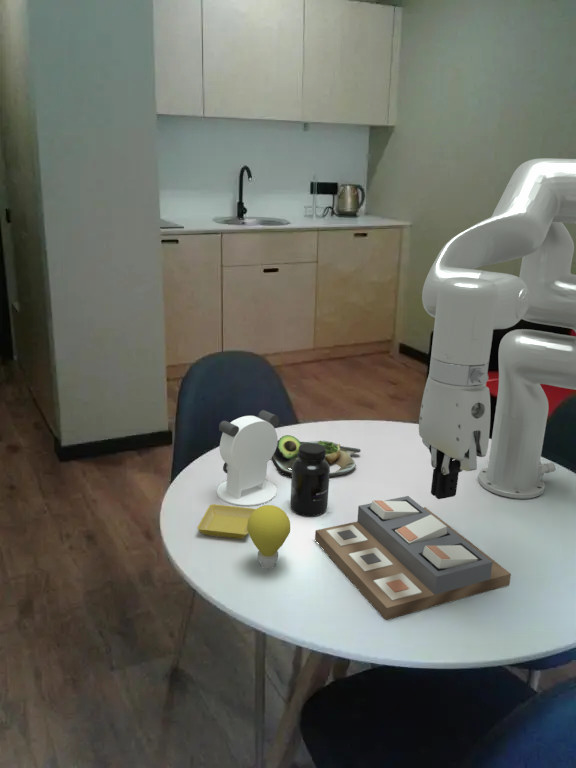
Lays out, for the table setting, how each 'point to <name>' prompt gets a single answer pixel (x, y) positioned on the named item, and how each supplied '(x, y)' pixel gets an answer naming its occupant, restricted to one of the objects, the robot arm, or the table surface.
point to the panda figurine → (248, 459)
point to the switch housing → (413, 553)
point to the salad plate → (333, 455)
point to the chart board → (392, 572)
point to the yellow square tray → (225, 521)
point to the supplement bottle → (310, 480)
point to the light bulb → (268, 533)
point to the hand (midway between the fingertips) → (443, 495)
